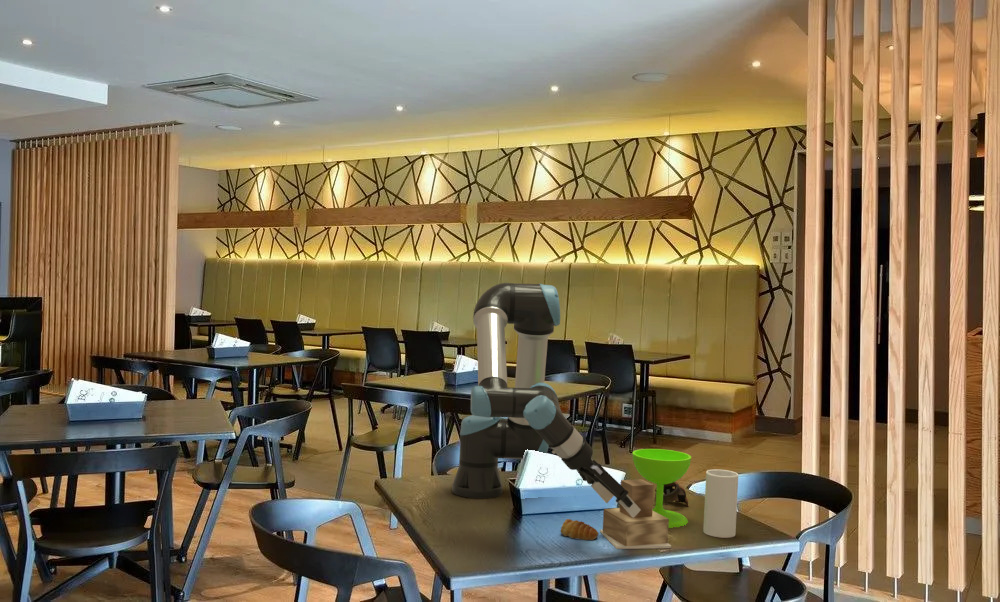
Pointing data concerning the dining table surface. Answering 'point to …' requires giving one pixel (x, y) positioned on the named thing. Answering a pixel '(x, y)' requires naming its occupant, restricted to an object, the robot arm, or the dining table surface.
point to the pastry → (578, 530)
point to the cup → (720, 503)
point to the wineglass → (663, 475)
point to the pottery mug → (673, 493)
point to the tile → (620, 546)
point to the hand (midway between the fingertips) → (622, 506)
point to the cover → (636, 518)
